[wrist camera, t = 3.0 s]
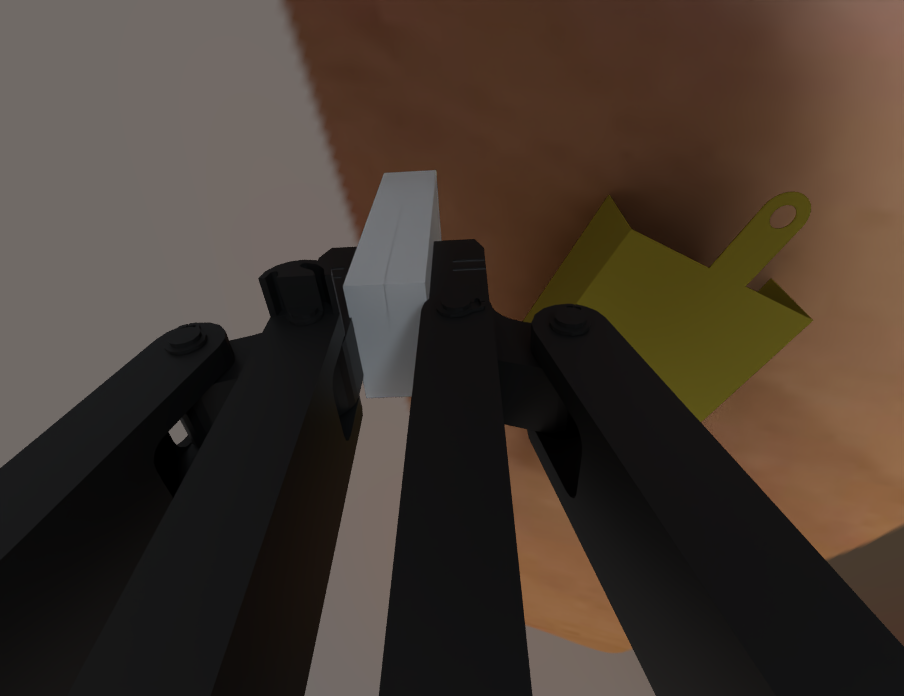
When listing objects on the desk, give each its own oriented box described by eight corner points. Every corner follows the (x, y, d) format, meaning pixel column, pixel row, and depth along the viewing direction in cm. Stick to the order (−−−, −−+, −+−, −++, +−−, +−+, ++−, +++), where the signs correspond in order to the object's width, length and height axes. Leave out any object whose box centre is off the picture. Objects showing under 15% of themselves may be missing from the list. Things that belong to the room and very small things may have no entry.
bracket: (1006, 317, 19) (719, 525, 27) (872, 231, 25) (671, 422, 33) (681, 128, 15) (461, 437, 23) (617, 81, 21) (461, 338, 30)
